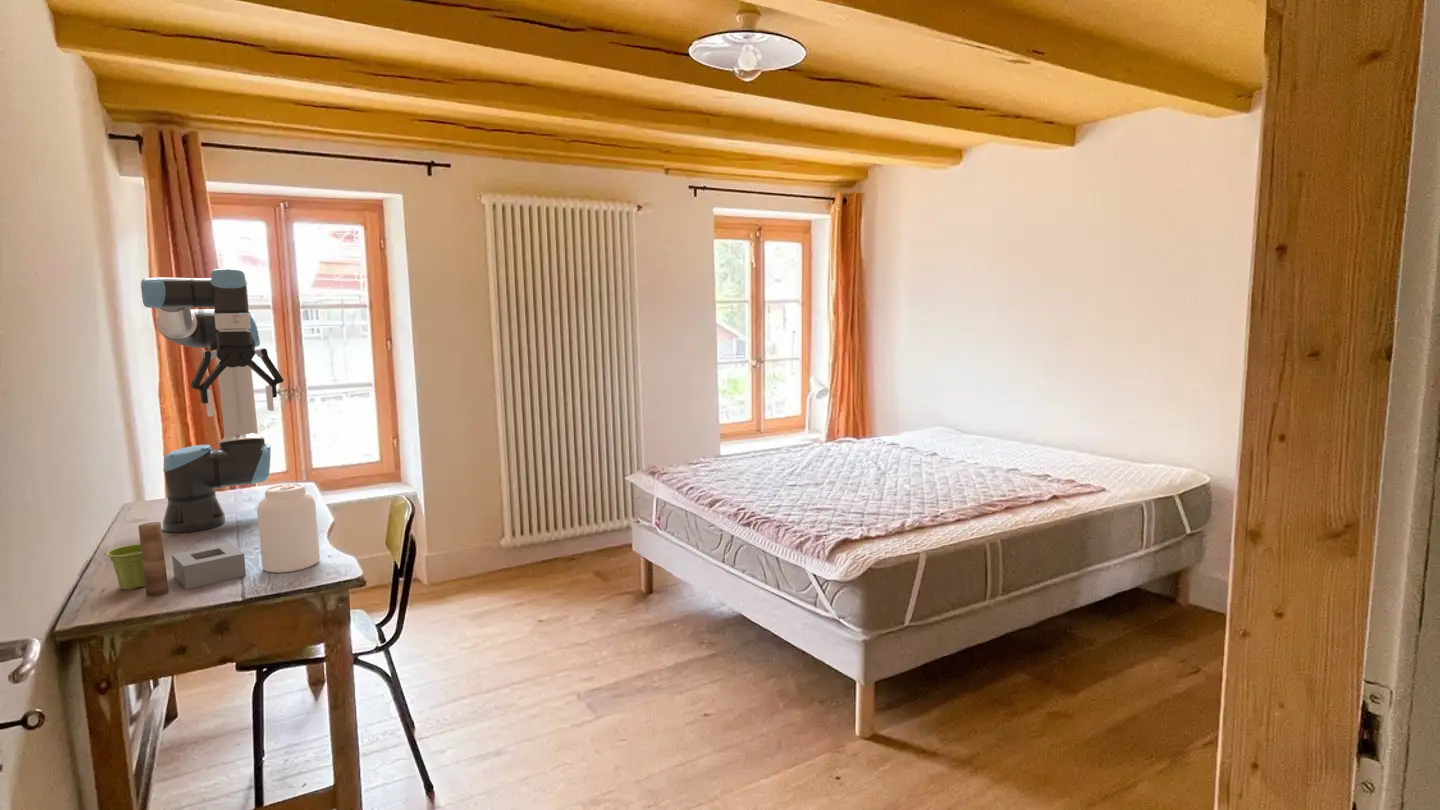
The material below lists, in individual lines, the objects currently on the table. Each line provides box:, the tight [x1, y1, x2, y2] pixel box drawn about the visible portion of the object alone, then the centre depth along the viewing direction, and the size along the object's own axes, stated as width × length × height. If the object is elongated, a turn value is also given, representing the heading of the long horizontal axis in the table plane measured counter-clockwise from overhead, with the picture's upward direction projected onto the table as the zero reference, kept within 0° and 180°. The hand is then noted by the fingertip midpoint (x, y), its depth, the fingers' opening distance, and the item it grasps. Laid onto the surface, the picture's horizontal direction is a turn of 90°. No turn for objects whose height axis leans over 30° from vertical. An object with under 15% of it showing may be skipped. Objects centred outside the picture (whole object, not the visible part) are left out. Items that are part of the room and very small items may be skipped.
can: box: [256, 483, 321, 574], centre depth 186 cm, size 12×12×20 cm
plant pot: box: [106, 543, 145, 590], centre depth 175 cm, size 9×9×9 cm
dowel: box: [137, 521, 169, 598], centre depth 169 cm, size 4×4×16 cm
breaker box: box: [171, 542, 247, 590], centre depth 180 cm, size 12×12×6 cm
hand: (241, 413), depth 195 cm, fingers open, 13 cm apart
